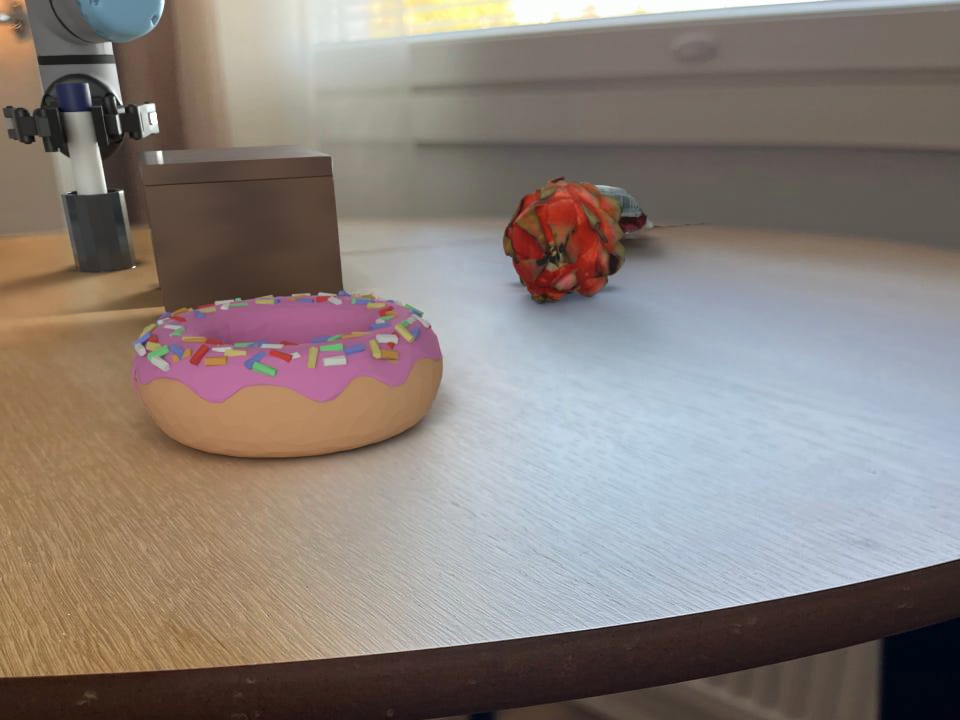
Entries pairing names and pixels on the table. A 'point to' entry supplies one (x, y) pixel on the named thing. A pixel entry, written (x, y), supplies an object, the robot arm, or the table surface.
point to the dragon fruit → (565, 240)
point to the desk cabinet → (241, 223)
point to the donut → (288, 373)
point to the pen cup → (99, 231)
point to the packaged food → (627, 210)
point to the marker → (81, 137)
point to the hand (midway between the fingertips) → (77, 127)
